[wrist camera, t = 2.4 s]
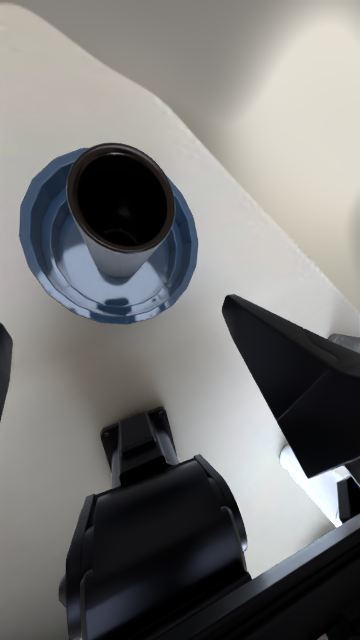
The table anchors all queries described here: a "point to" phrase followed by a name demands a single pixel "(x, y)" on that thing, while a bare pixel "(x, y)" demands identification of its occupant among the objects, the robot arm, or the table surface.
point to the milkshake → (315, 485)
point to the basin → (78, 266)
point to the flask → (346, 341)
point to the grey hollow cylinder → (120, 206)
